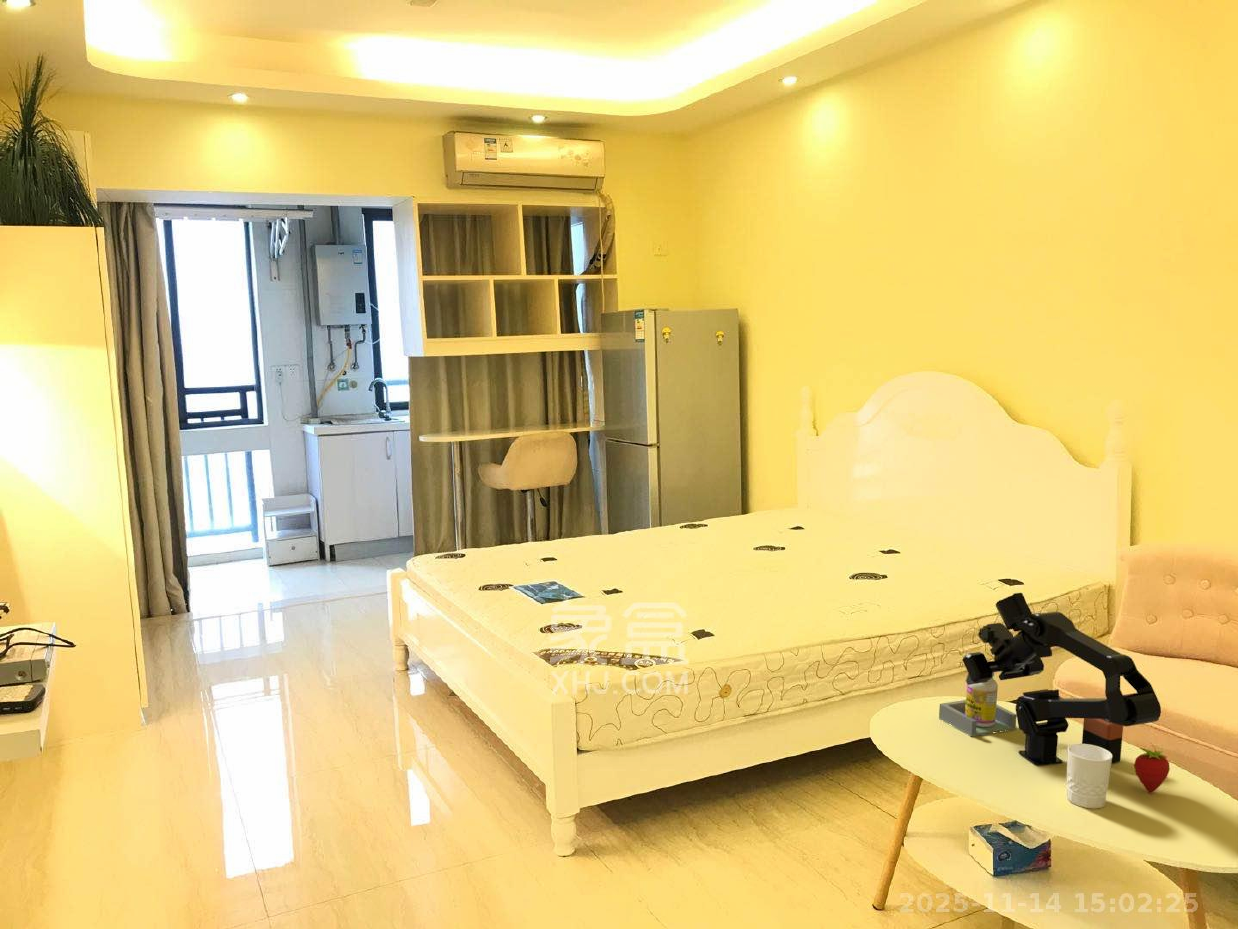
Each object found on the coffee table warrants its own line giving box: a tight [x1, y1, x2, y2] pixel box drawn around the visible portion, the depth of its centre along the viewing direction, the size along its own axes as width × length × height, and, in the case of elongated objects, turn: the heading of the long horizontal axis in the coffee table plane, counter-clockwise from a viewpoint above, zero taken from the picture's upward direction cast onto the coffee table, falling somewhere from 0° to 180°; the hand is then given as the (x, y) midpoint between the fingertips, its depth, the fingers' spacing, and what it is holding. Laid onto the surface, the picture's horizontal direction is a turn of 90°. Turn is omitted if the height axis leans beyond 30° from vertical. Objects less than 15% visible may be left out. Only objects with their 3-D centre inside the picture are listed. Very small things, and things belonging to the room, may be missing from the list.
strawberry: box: [1133, 742, 1171, 794], centre depth 202 cm, size 6×8×10 cm
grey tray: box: [938, 699, 1017, 737], centre depth 235 cm, size 11×12×4 cm
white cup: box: [1066, 743, 1112, 810], centre depth 198 cm, size 8×8×10 cm
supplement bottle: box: [965, 672, 999, 727], centre depth 234 cm, size 7×7×13 cm
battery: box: [1081, 718, 1124, 765], centre depth 217 cm, size 4×7×10 cm, turn 24°
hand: (983, 680), depth 233 cm, fingers open, 9 cm apart
